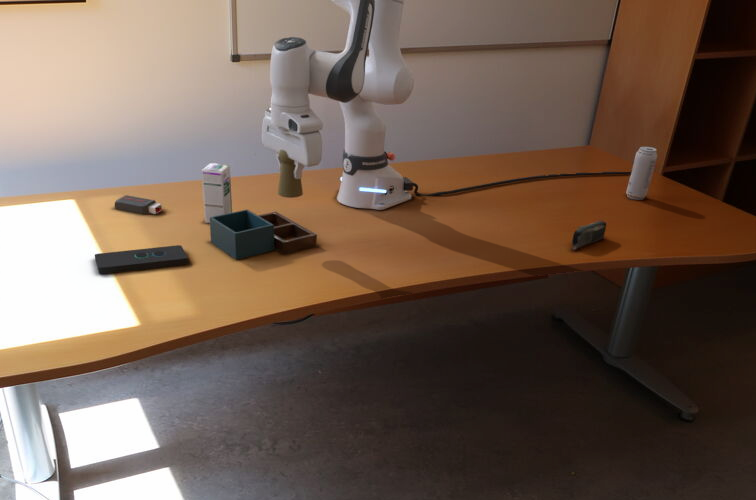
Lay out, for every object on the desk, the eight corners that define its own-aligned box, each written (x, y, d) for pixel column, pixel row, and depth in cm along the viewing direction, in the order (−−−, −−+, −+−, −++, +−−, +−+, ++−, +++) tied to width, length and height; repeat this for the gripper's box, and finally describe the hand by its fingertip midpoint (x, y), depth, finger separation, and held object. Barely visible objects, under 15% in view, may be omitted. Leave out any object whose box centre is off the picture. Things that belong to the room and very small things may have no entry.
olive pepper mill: (302, 198, 177) (302, 152, 171) (276, 197, 177) (276, 151, 171) (303, 189, 182) (303, 144, 176) (279, 188, 182) (278, 143, 176)
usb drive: (126, 202, 204) (124, 193, 203) (164, 209, 201) (163, 200, 200) (114, 208, 200) (113, 199, 199) (153, 216, 197) (152, 206, 195)
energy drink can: (628, 192, 233) (641, 144, 225) (648, 197, 230) (661, 148, 222) (622, 197, 228) (635, 148, 221) (642, 201, 226) (655, 152, 218)
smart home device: (188, 257, 171) (98, 267, 164) (188, 264, 172) (99, 274, 165) (181, 244, 178) (94, 253, 171) (181, 250, 179) (95, 260, 172)
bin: (248, 233, 190) (247, 209, 186) (274, 250, 182) (273, 224, 178) (210, 242, 184) (209, 217, 180) (236, 259, 176) (235, 233, 172)
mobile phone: (599, 218, 198) (569, 229, 189) (609, 221, 196) (580, 233, 187) (595, 235, 200) (565, 248, 191) (605, 239, 199) (576, 251, 189)
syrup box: (225, 225, 194) (223, 171, 186) (204, 223, 194) (201, 168, 187) (232, 218, 198) (230, 164, 191) (211, 215, 199) (209, 162, 192)
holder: (275, 222, 197) (275, 211, 196) (316, 245, 185) (316, 234, 184) (244, 229, 192) (243, 218, 190) (283, 254, 180) (283, 242, 178)
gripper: (254, 107, 174) (256, 164, 182) (304, 128, 161) (303, 189, 168) (276, 103, 178) (277, 160, 185) (327, 124, 164) (326, 184, 172)
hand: (290, 174), depth 177 cm, fingers closed on olive pepper mill, 4 cm apart
